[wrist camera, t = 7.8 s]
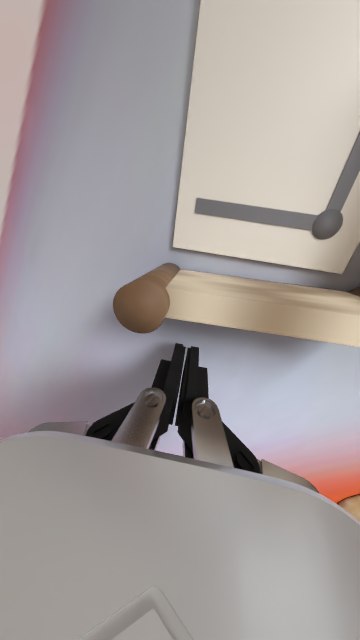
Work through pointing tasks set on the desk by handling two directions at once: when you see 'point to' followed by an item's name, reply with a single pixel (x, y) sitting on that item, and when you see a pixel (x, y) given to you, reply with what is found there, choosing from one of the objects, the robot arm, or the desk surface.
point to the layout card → (274, 133)
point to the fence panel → (238, 305)
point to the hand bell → (352, 505)
